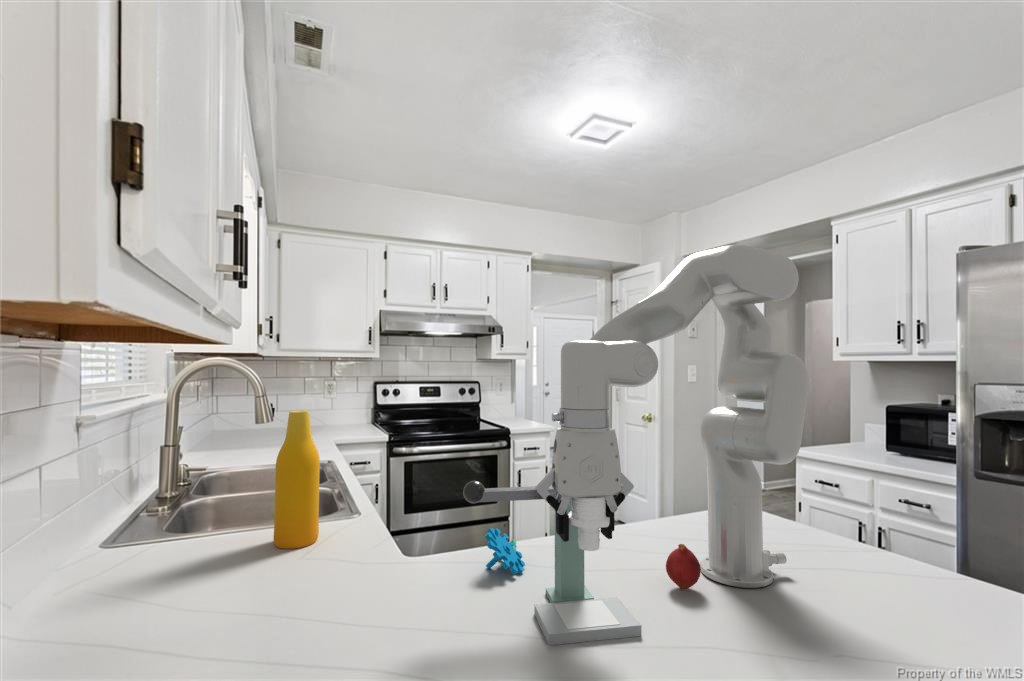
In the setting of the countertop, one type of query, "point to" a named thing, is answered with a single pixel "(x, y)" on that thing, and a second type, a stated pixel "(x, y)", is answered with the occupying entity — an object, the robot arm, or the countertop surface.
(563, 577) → the press
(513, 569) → the gear
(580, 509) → the pipe fitting
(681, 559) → the onion
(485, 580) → the countertop surface
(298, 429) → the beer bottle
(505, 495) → the lever
